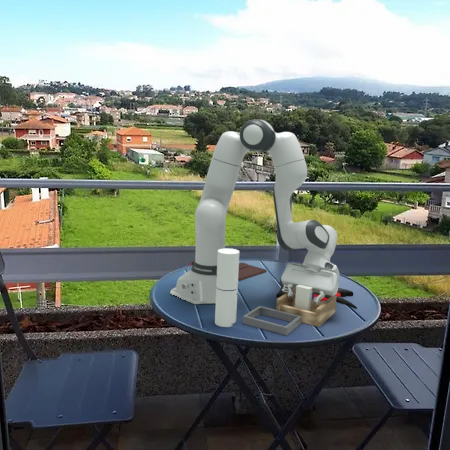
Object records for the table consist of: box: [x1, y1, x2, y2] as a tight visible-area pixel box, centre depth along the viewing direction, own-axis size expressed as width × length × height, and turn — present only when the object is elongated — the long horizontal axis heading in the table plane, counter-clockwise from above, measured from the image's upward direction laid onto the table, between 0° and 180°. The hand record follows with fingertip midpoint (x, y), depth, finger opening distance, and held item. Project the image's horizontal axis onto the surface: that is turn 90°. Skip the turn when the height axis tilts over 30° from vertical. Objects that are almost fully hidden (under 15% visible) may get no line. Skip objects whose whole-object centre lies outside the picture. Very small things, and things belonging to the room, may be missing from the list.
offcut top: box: [294, 298, 325, 309], centre depth 172 cm, size 10×4×2 cm, turn 55°
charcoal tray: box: [242, 305, 302, 336], centre depth 161 cm, size 16×12×4 cm
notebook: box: [238, 262, 268, 282], centre depth 220 cm, size 15×20×2 cm
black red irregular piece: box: [275, 277, 358, 310], centre depth 193 cm, size 26×4×30 cm
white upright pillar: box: [295, 285, 313, 311], centre depth 167 cm, size 5×2×11 cm, turn 59°
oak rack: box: [275, 288, 337, 328], centre depth 171 cm, size 16×16×7 cm
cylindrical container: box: [214, 247, 240, 328], centre depth 160 cm, size 7×7×25 cm
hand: (302, 300), depth 166 cm, fingers open, 8 cm apart
